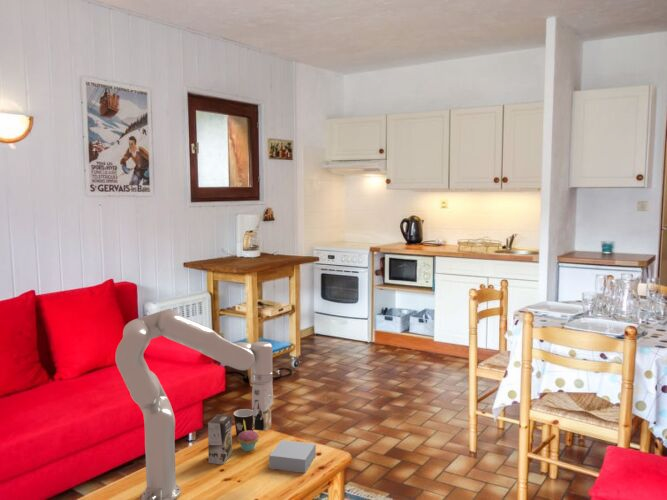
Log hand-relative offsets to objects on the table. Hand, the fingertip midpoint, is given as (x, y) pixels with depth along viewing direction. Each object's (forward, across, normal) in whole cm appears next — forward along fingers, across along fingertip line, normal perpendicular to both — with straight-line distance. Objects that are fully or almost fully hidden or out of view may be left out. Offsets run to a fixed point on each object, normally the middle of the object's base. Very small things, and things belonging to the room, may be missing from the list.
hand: (262, 425), depth 210 cm
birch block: (+1, 0, 0) cm, 1 cm away
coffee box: (+20, +10, +21) cm, 30 cm away
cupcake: (+20, +21, +14) cm, 32 cm away
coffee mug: (+20, +31, +19) cm, 41 cm away
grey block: (+19, +14, -7) cm, 25 cm away
